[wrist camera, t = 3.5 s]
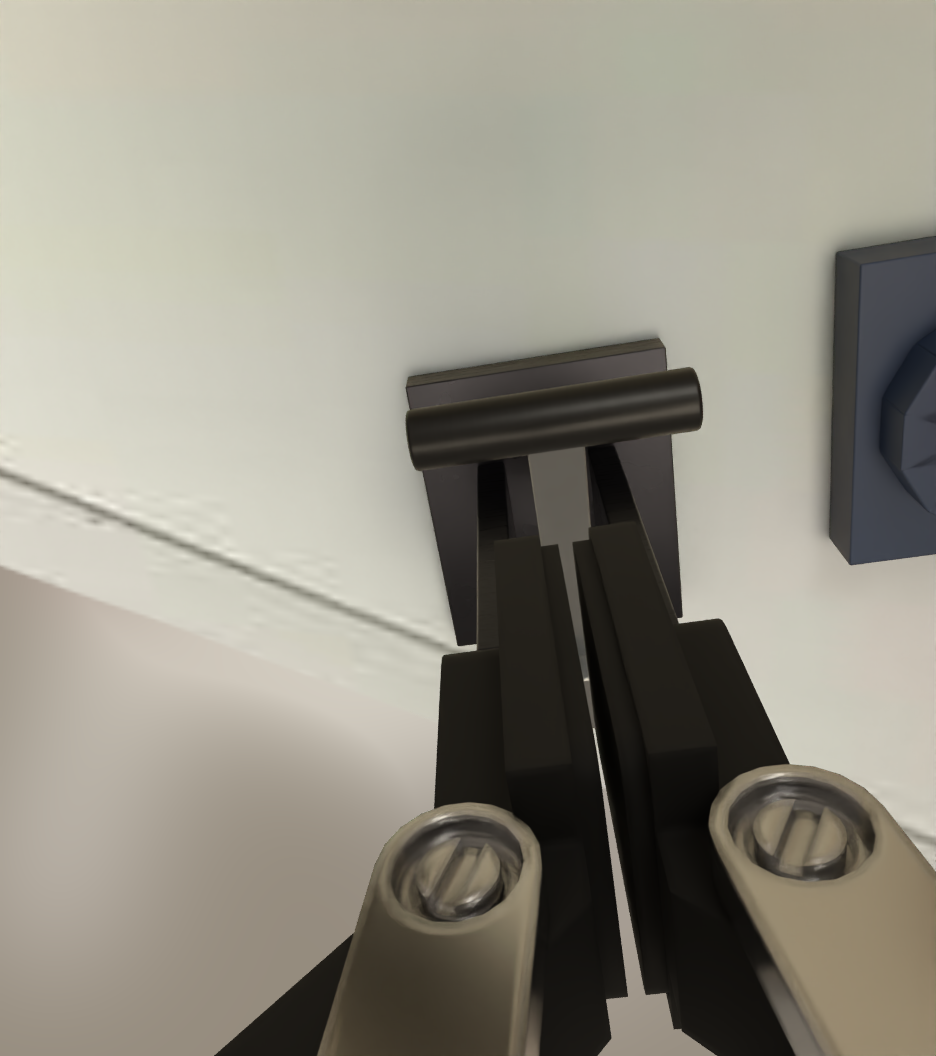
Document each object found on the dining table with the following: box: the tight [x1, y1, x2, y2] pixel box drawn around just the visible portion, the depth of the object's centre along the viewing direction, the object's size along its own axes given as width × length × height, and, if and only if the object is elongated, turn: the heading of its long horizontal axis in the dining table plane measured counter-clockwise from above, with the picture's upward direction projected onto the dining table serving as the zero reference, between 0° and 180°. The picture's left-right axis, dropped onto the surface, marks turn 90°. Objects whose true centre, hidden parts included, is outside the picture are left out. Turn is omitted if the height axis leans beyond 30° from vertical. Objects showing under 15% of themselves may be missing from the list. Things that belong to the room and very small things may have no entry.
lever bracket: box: [406, 338, 683, 651], centre depth 29 cm, size 11×9×13 cm
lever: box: [406, 367, 703, 728], centre depth 21 cm, size 12×6×2 cm, turn 9°
